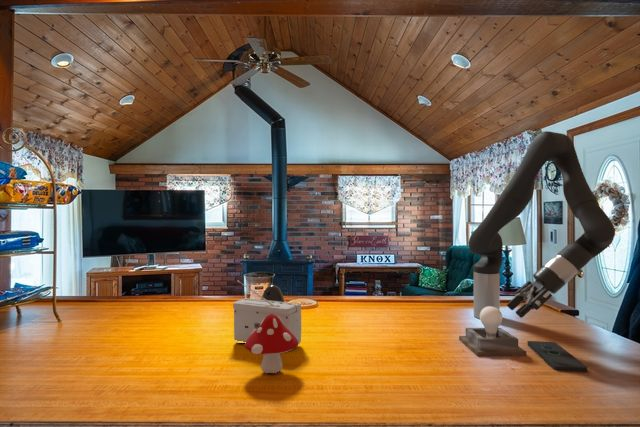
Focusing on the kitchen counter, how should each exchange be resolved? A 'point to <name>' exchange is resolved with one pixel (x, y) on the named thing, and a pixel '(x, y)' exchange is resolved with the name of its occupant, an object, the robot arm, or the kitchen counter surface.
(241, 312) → the stereo radio cassette player
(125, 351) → the kitchen counter surface
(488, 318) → the lightbulb
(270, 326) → the decorative mushroom
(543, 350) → the smart home device
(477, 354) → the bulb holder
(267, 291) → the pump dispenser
